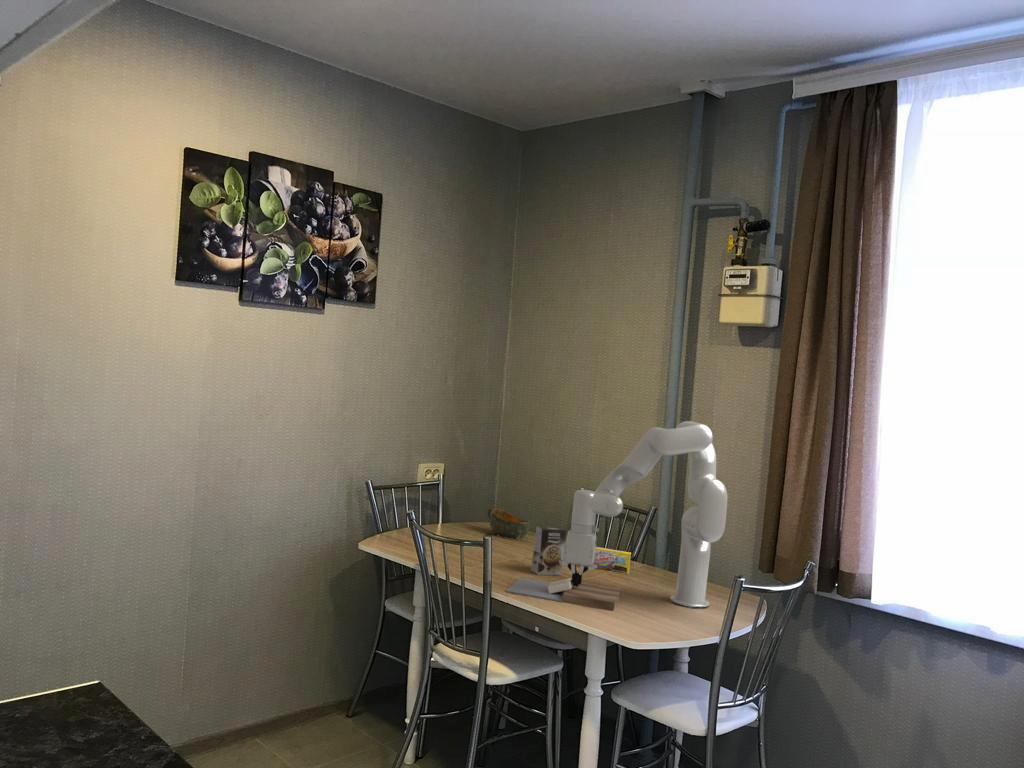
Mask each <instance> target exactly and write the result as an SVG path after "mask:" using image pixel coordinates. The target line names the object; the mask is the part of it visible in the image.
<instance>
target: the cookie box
mask: <svg viewBox="0 0 1024 768" xmlns="http://www.w3.org/2000/svg"><path fill="white" fill-rule="evenodd" d="M535 529H536V530H535V537H534V544H533V545H534V547H533V555H532V561H531V562H532V563H531V568H530V569H531V571H532V572H533V573H534V574H536V575H538V576H561V575H562V571H563V570H562V569H563V565H562V561H563V552H564V547H565V542H566V537H567V530H566V529H564V528H562V527H559V526H546V525H545V526H544V525H536V528H535Z"/></svg>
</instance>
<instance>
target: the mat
mask: <svg viewBox="0 0 1024 768" xmlns="http://www.w3.org/2000/svg"><path fill="white" fill-rule="evenodd" d="M551 583H552V582H549V581H542V580H537V579H531V578H524V577H519V578H518V579H517V580H516V581H515V582H513V584H512V585H510V587H508V588H507V590H505V592H506V593H508V594H513V595H521V596H526V597H531V598H537V599H543V600H548V601H554V602H559V603H563V602H562V599H563V593H564V592H565V591H566V590H565V591H560V592H555V593H550V594H549V590H548V587H549V586H550V584H551Z"/></svg>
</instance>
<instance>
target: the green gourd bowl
mask: <svg viewBox="0 0 1024 768" xmlns="http://www.w3.org/2000/svg"><path fill="white" fill-rule="evenodd" d="M487 517H488V519H489V523H490V524H489V526H490V529H491V532H492V534H493V533H494V534H496V535H499V536H502V537H501V538H503V537H507V538H513V539H522V540H523V539H524V538H525V537H526V536H527V534H528V533H529V530H530V525H531V524H530V523H531V521H529V520H527V519H526V520H525V519H522V518H519V517H517V516H515V515H513V514H512V513H510V512H508V511H506V510H503V509H500V508H490V507H489V508H488V509H487ZM494 534H493V535H494ZM496 535H495V536H496ZM499 536H498V537H499ZM507 538H506V539H507ZM513 539H512V540H513Z"/></svg>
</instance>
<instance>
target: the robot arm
mask: <svg viewBox="0 0 1024 768" xmlns="http://www.w3.org/2000/svg"><path fill="white" fill-rule="evenodd" d="M713 438H714V436H713V432H712V430H711V429H710V427H709V426H707V425H706V424H703V423H699V422H696V421H690V420H685V421H682V422H680V423H678V425H677V426H676V427H675V428H664V427H660V426H656V427H654V426H653V427H651V428H650V429H649V430H647V431H646V432H645V433H644V434H643V436H642V438H641V439H639V441H638V443H637V444H636V445H635V446H634V448H632V451H631V452H630V453H629V454H628V455H627V457H626V458H625V459H624V460H623V461H622V462H621V463H620V464H619V465H618V466H617V467H615V468H614V469H612V470H611V471H610V472H609V473H608V474H607V475H606V477H605V478H604V479H603V480H602V481H601V483H599V485H598V487H597V488H596V489H595V491H594V490H589V489H577V490H576V491H575V492H574V495H573V502H572V503H573V504H572V505H573V506H572V512H571V513H572V514H571V522H570V530H568V532H567V533H566V536H565V544H564V552H563V561H562V566H565V567H567V568H568V569H569V571H570V572H571V578H572V581H571V583H573V586H576V587H578V586H579V584H581V582H583V581H582V580H583V574H584V573H585V572H587V571H595V570H594V569H595V564H594V563H595V559H596V547H597V534H596V532H597V533H599V531H600V528H599V527H597V526H596V519H597V516H596V515H598V516H603V517H608V518H609V517H610V518H614V517H617V516H619V515H620V514H621V513H622V512H623V509H624V503H623V500H622V498H621V497H620V495H621V493H622V492H623V491H624V490H625V489H627V487H629V486H630V485H632V484H633V483H635V482H638V481H641V480H643V479H645V478H646V477H647V475H649V473H650V471H652V470H653V468H654V466H655V465H656V464H657V463H658V462H659V460H660V459H661V457H662V456H664V457H670V456H672V457H673V456H679V455H685V454H688V455H689V471H688V482H687V483H688V484H687V494H688V497H689V499H691V501H693V502H695V503H697V504H698V505H697V506H692V507H690V508H688V509H687V510H685V511H684V513H683V514H682V518H681V525H680V526H681V528H680V529H681V542H680V543H681V544H680V552H679V553H680V554H679V559H678V570H677V579H676V588H675V593H674V594H672V595H670V597H669V599H671V600H670V601H671V602H672V601H673V602H675V603H678V604H681V605H685V606H691V607H706V606H708V605H709V606H710V602H709V600H707V599H706V594H707V593H706V592H707V585H708V584H707V583H708V575H709V567H710V566H709V565H710V558H711V544H712V543H715V542H717V541H719V540H720V539H721V538H722V536H723V535H724V531H725V529H726V523H727V522H726V520H727V510H728V492H727V488H726V486H725V484H724V483H723V482H722V481H720V480H719V479H718V478H717V453H716V450H715V447H714V444H713ZM577 566H579V570H578V569H577ZM673 602H672V603H673ZM675 603H674V604H675ZM678 604H677V605H678ZM681 605H680V606H681ZM685 606H684V607H685ZM691 607H690V608H691Z"/></svg>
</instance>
